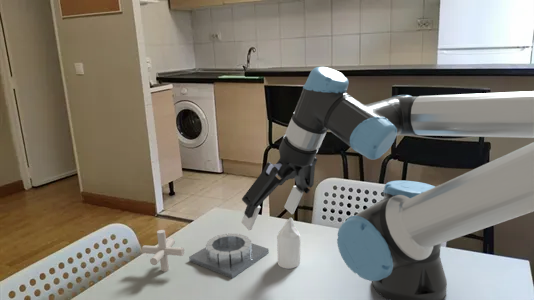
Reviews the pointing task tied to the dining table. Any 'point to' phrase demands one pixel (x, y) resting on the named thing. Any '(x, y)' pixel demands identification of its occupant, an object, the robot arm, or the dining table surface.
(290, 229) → the white faceted pointed piece
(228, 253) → the collar
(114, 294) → the dining table surface
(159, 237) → the pipe connector
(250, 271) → the dining table surface
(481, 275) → the dining table surface
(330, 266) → the dining table surface
